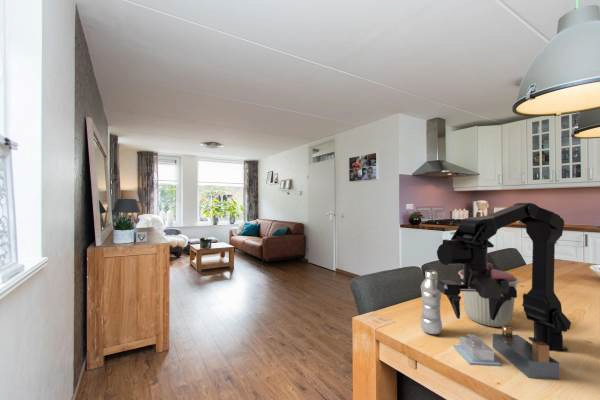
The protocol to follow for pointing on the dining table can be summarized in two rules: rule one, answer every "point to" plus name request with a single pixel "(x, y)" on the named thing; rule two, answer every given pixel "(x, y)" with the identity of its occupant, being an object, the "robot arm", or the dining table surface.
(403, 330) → the dining table surface
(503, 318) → the canister
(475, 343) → the lever cap
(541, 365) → the body
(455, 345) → the rubber pad
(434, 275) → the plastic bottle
